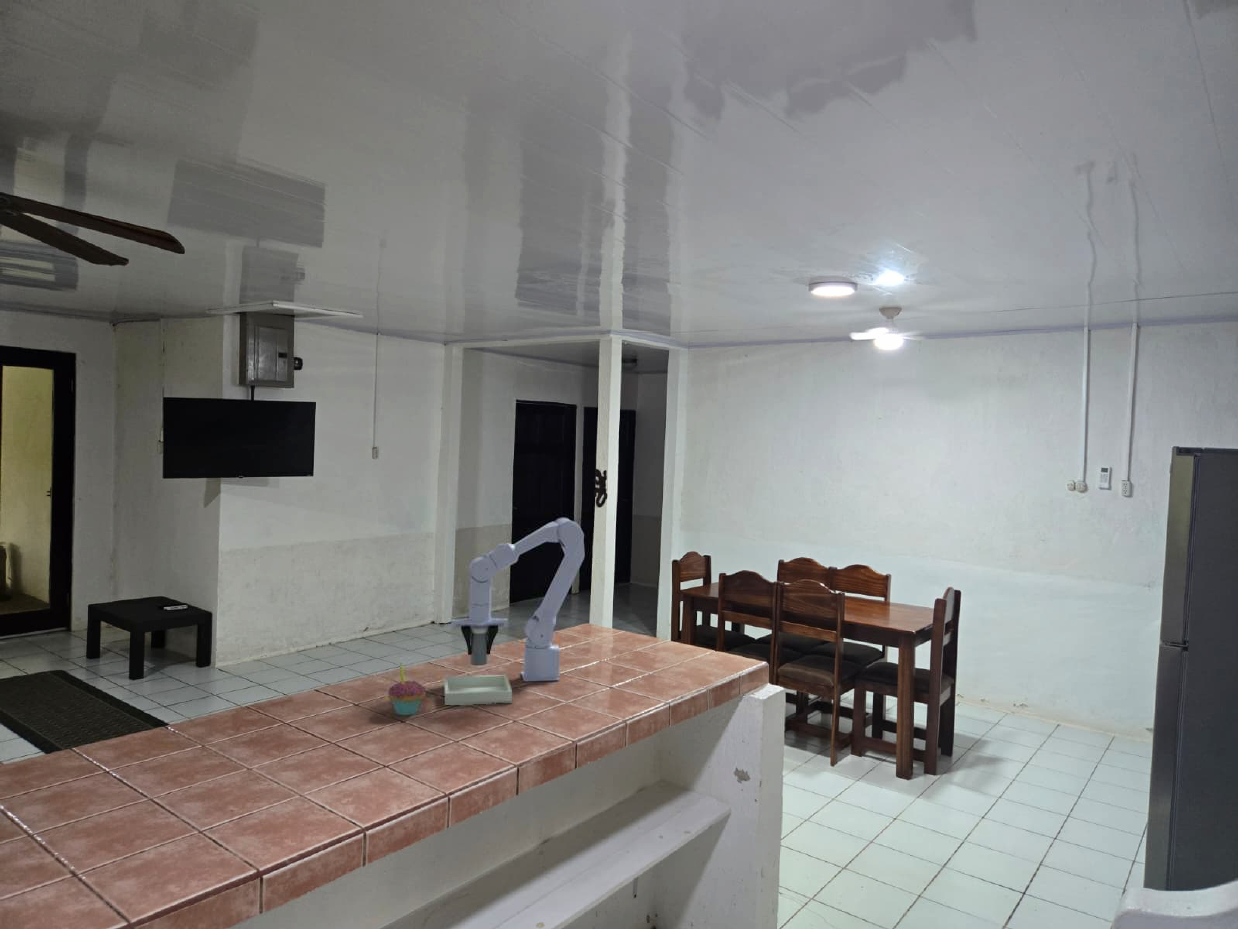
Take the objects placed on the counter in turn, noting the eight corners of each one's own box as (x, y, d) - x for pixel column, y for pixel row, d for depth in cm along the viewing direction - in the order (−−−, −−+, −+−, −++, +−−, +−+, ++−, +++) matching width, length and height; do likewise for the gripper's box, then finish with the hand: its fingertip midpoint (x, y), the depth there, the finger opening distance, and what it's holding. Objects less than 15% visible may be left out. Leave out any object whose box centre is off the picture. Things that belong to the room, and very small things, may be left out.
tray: (506, 686, 215) (506, 674, 215) (511, 703, 201) (512, 691, 201) (443, 688, 211) (444, 676, 211) (445, 706, 198) (445, 693, 198)
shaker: (486, 660, 222) (487, 625, 221) (488, 665, 217) (489, 629, 217) (469, 661, 221) (470, 625, 220) (470, 665, 216) (471, 629, 216)
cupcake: (402, 721, 187) (404, 668, 186) (379, 712, 192) (381, 661, 191) (432, 711, 193) (434, 661, 193) (409, 703, 199) (410, 654, 198)
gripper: (452, 606, 213) (451, 658, 213) (509, 606, 216) (507, 657, 217) (452, 601, 220) (450, 651, 220) (506, 600, 223) (505, 650, 224)
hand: (478, 653), depth 219 cm, fingers closed on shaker, 4 cm apart
